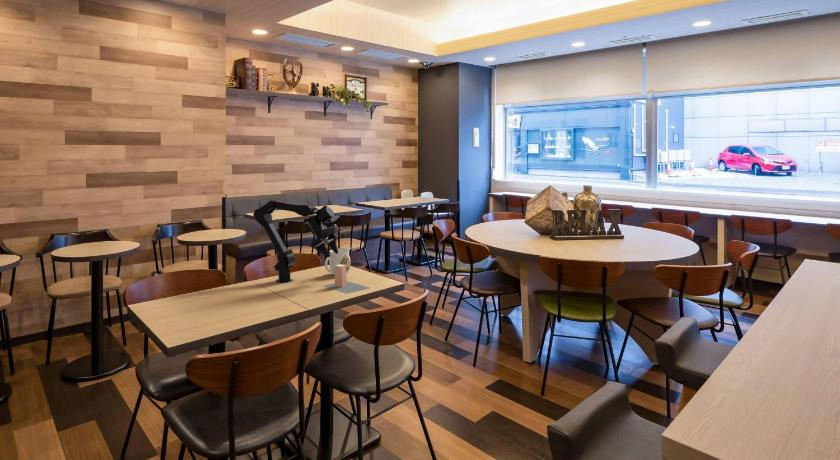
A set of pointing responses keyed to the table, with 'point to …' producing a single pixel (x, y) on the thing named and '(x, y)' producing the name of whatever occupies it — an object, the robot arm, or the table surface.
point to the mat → (347, 287)
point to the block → (340, 275)
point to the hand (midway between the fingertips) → (333, 255)
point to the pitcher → (338, 259)
